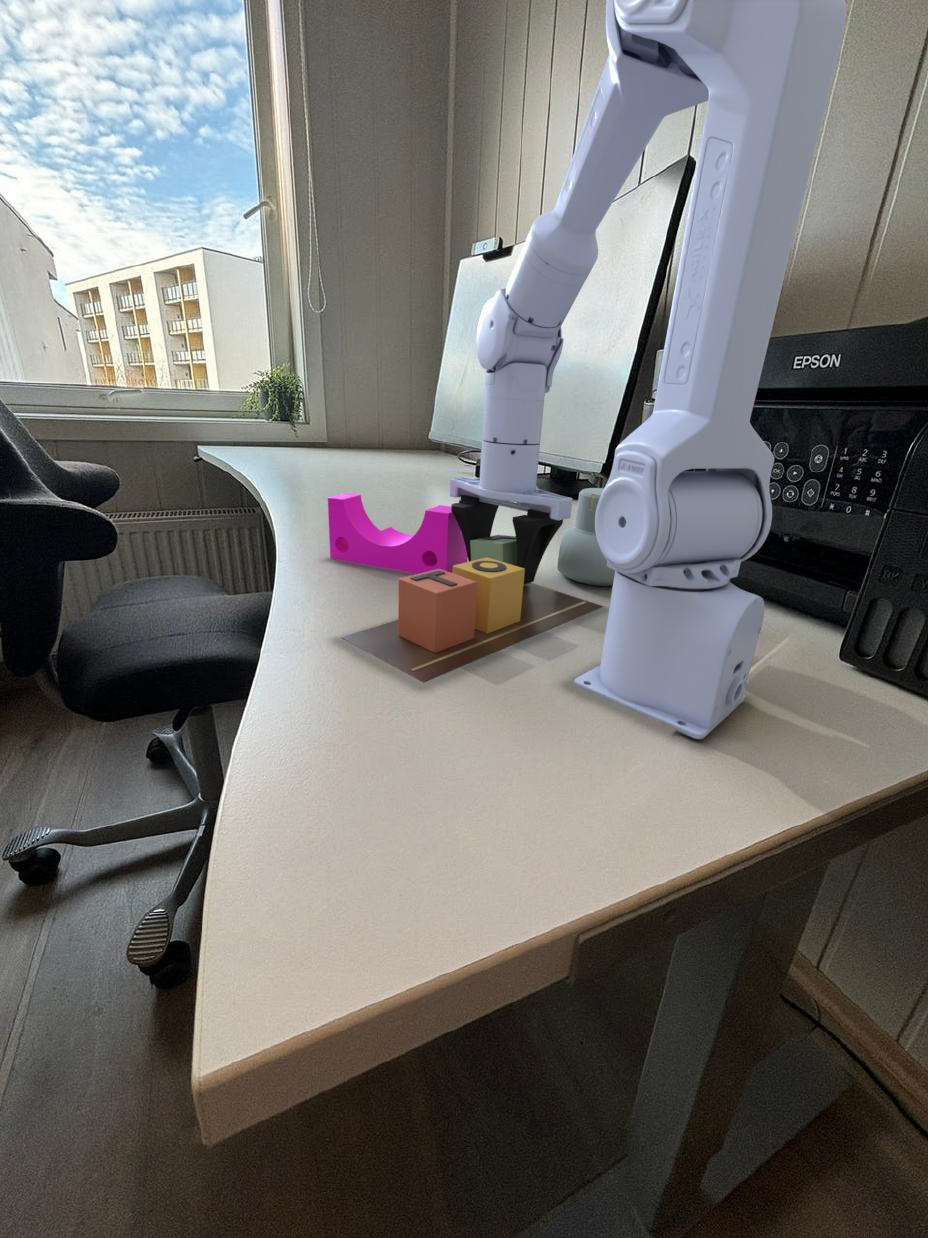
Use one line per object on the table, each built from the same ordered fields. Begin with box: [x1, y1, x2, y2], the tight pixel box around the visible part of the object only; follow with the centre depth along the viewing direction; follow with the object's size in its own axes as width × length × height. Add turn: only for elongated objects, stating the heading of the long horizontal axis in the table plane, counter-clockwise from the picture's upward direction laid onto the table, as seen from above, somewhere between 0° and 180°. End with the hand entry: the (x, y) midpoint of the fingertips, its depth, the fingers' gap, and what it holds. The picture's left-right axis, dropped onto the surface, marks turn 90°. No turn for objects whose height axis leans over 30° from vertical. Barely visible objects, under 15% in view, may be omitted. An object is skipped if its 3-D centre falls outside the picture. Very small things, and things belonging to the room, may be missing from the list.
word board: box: [341, 582, 604, 683], centre depth 51 cm, size 10×24×1 cm, turn 136°
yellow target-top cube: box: [452, 557, 525, 634], centre depth 50 cm, size 4×4×5 cm
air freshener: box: [557, 487, 615, 587], centre depth 63 cm, size 11×8×10 cm
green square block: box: [470, 534, 532, 586], centre depth 60 cm, size 4×4×5 cm
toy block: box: [327, 492, 468, 574], centre depth 66 cm, size 15×6×8 cm, turn 68°
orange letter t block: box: [397, 569, 477, 653], centre depth 46 cm, size 4×4×5 cm
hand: (500, 574), depth 60 cm, fingers open, 6 cm apart
